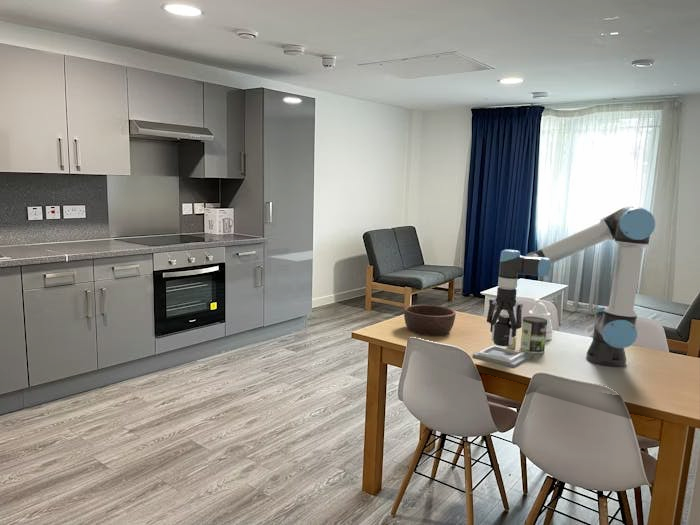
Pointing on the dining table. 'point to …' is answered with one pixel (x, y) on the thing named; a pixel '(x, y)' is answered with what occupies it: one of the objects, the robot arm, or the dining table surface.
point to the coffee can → (533, 335)
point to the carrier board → (504, 355)
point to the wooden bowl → (429, 319)
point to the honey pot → (542, 316)
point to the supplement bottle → (502, 331)
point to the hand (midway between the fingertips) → (502, 341)
